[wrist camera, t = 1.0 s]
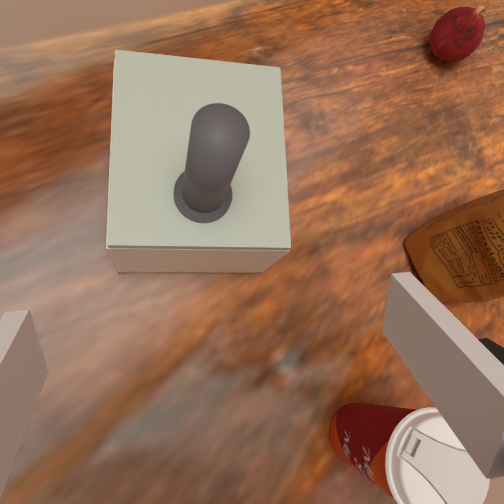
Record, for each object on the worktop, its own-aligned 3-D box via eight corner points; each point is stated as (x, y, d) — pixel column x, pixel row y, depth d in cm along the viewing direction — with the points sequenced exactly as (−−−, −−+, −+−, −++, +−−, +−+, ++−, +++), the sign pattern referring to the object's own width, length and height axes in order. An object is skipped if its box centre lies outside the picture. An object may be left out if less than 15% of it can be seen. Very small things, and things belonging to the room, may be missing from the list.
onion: (450, 82, 55) (498, 38, 47) (412, 61, 54) (453, 13, 46) (461, 49, 56) (508, 2, 49) (424, 29, 56) (466, -23, 48)
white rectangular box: (118, 273, 40) (105, 248, 31) (123, 122, 44) (114, 58, 34) (260, 273, 43) (289, 251, 34) (254, 132, 47) (279, 75, 37)
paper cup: (304, 447, 40) (376, 493, 27) (342, 376, 43) (425, 387, 29) (370, 492, 41) (473, 560, 27) (404, 420, 43) (514, 450, 30)
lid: (108, 247, 31) (82, 194, 20) (116, 56, 34) (98, -71, 24) (288, 250, 34) (344, 204, 23) (277, 73, 37) (323, -34, 27)
